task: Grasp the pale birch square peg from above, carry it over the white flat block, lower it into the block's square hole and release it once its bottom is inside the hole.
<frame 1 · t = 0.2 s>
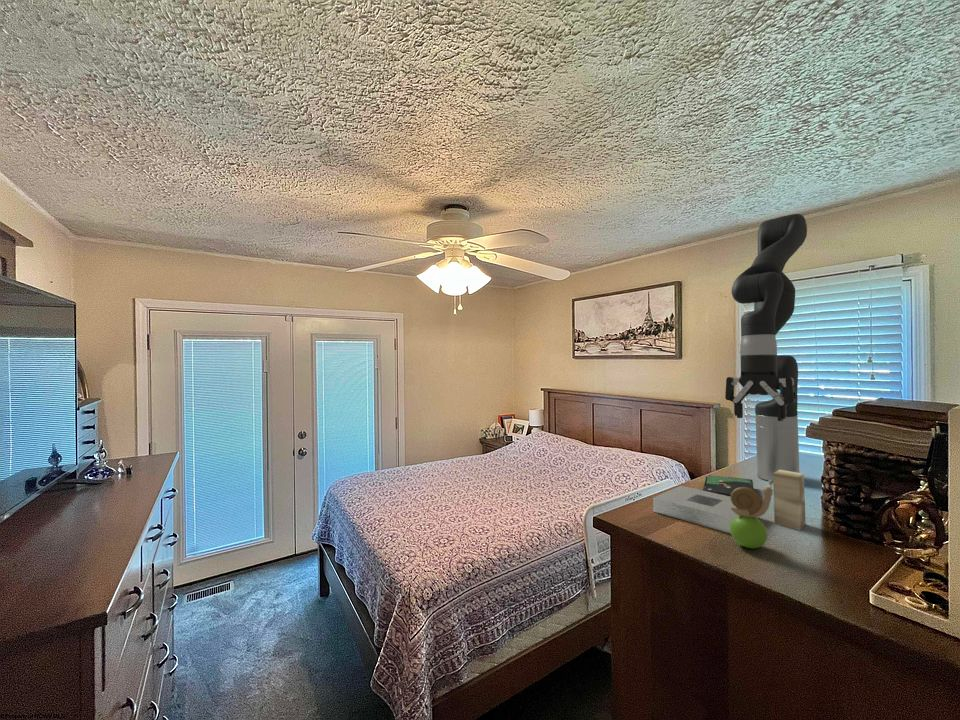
hand: (759, 419, 99), 18 cm above the table, tool pointing down, fingers open, 8 cm apart
birch peg: (790, 524, 79), on the table
white flat block: (704, 514, 85), on the table
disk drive: (728, 496, 98), on the table
snail figurine: (752, 548, 70), on the table
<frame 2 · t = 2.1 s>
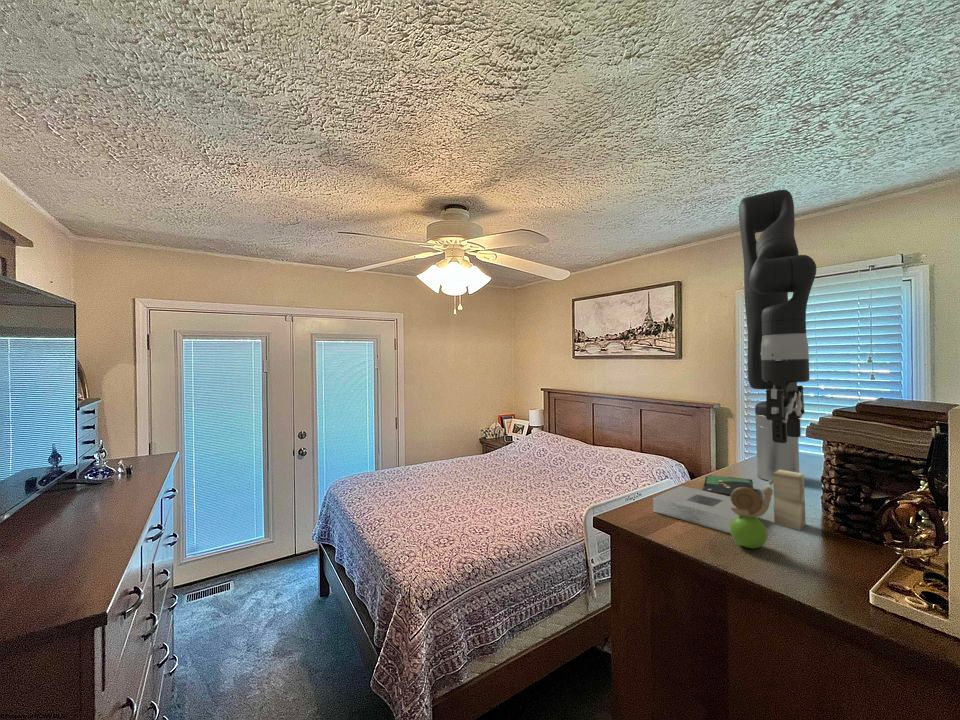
hand: (786, 439, 79), 17 cm above the table, tool pointing down, fingers open, 8 cm apart
nothing on the table moved.
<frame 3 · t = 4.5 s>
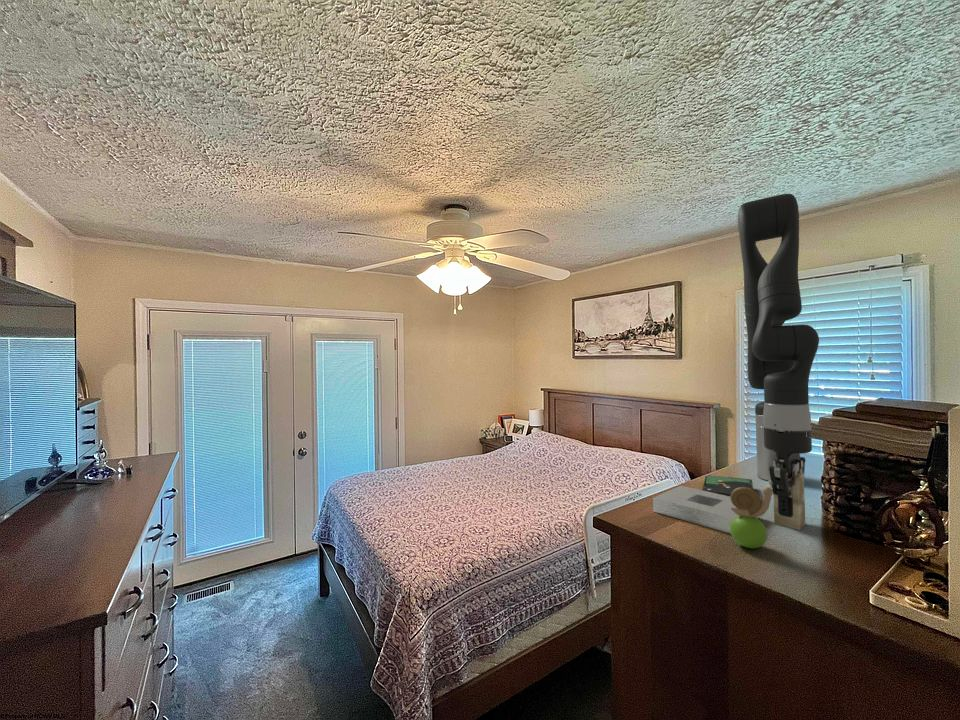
hand: (789, 512, 79), 2 cm above the table, tool pointing down, fingers closed on birch peg, 4 cm apart
birch peg: (789, 523, 79), on the table, touching gripper
everything else where it was.
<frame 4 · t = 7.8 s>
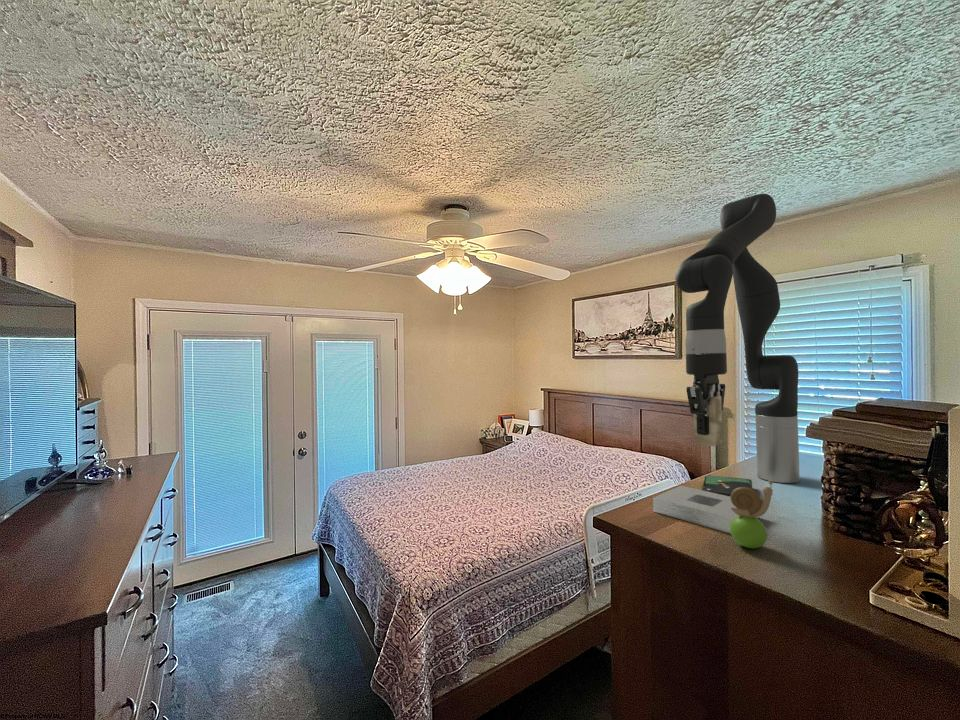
hand: (707, 432, 85), 17 cm above the table, tool pointing down, fingers closed on birch peg, 4 cm apart
birch peg: (708, 443, 85), point 15 cm above the table, touching gripper
everything else where it was.
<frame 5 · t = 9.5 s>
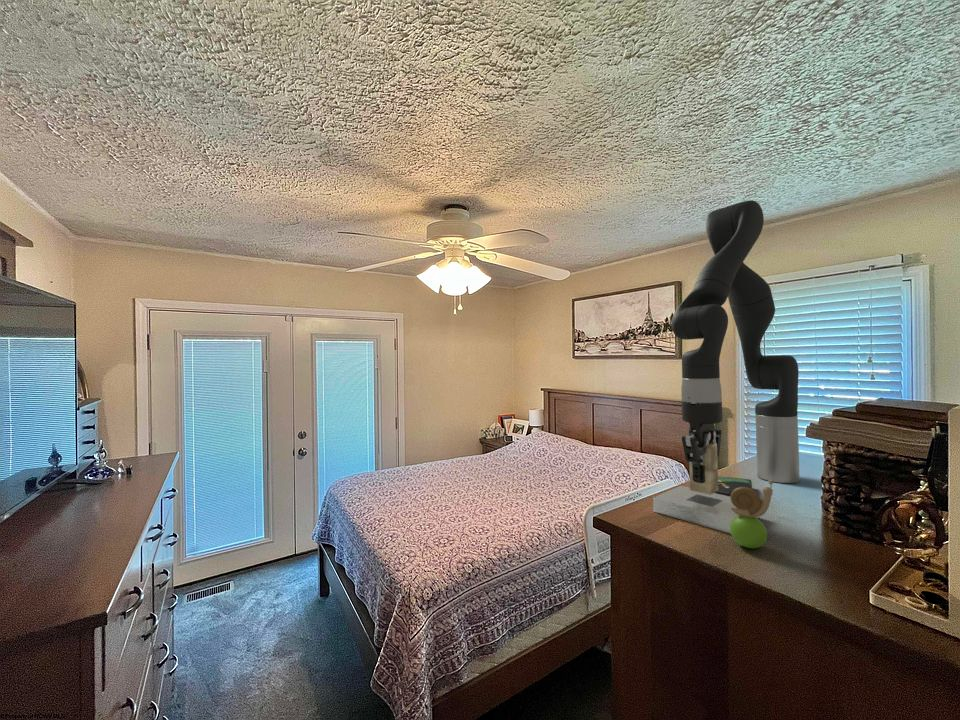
hand: (703, 479, 85), 7 cm above the table, tool pointing down, fingers closed on birch peg, 4 cm apart
birch peg: (704, 490, 85), point 5 cm above the table, touching gripper
everything else where it was.
when the fingers open (4 cm above the table, at t = 11.1 s): birch peg drops 2 cm, resting in white flat block.
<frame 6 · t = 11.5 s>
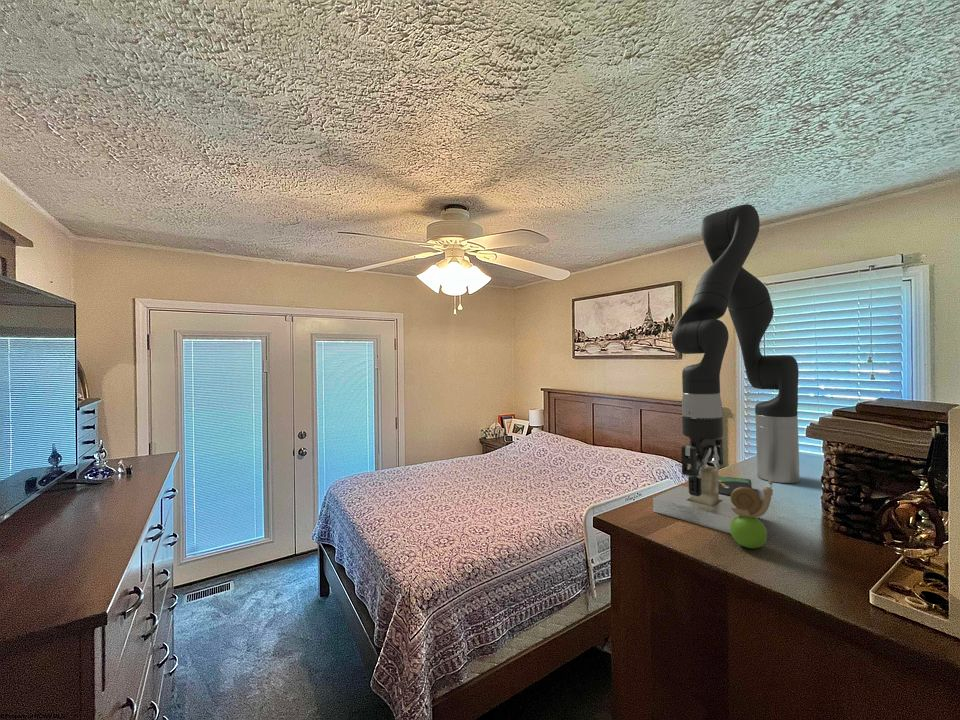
hand: (704, 490, 85), 5 cm above the table, tool pointing down, fingers open, 8 cm apart
birch peg: (704, 514, 85), resting in white flat block
everything else where it was.
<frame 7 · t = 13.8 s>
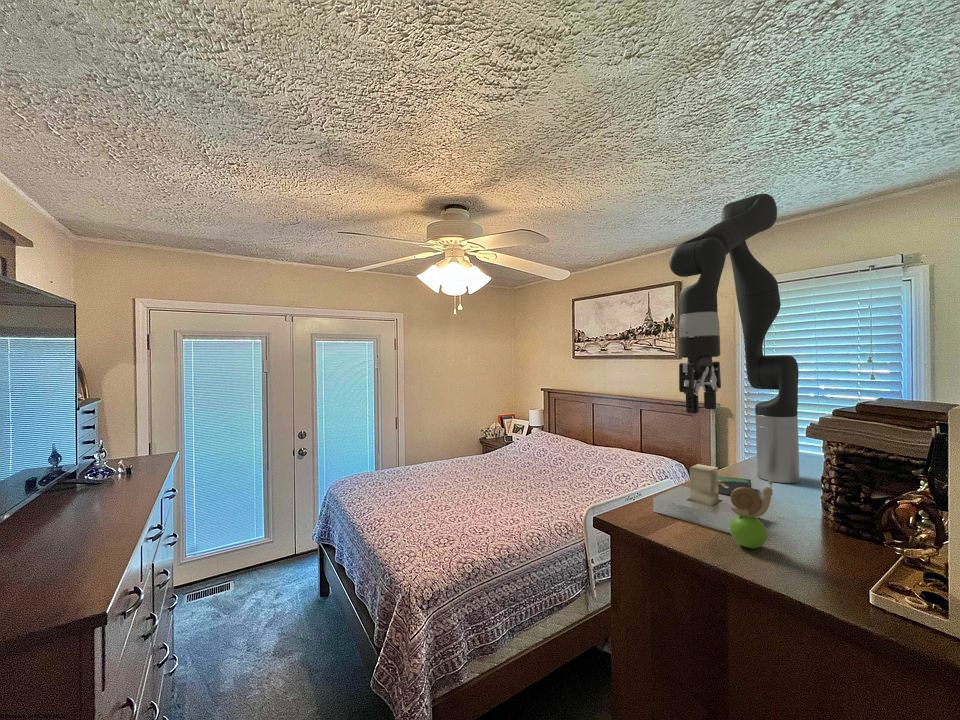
hand: (701, 411, 85), 22 cm above the table, tool pointing down, fingers open, 8 cm apart
nothing on the table moved.
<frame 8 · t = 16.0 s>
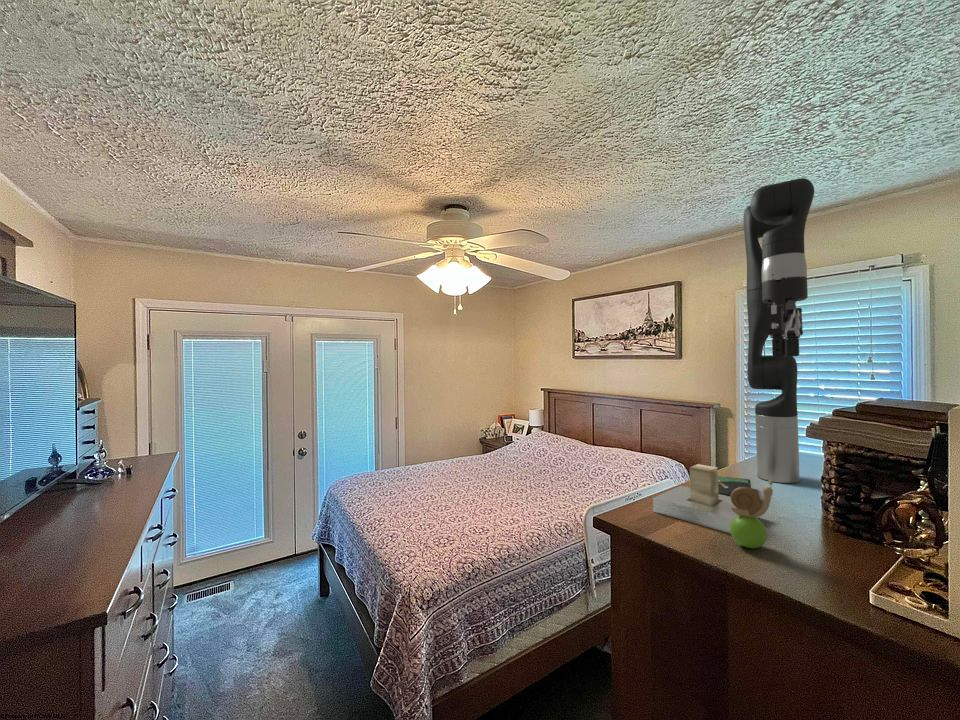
hand: (786, 356, 83), 33 cm above the table, tool pointing down, fingers open, 8 cm apart
nothing on the table moved.
at the end: birch peg 0.1 cm off-centre on the white flat block, point 0.0 cm above the white flat block's base; birch peg tilted 0°; the gripper is holding nothing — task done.
